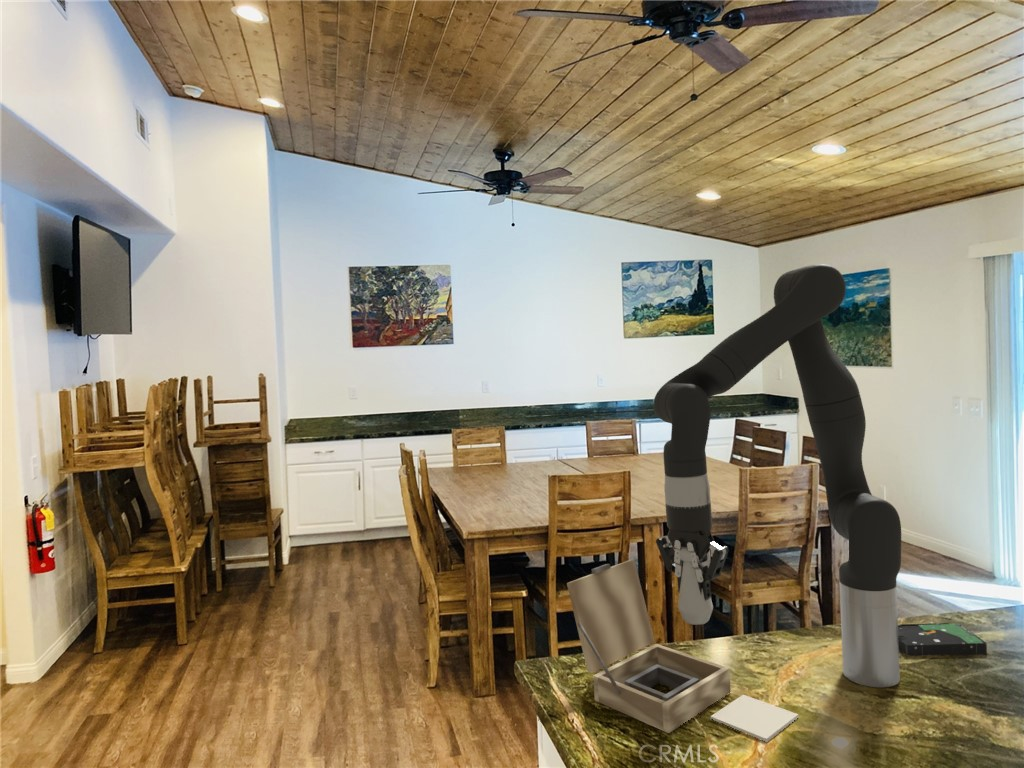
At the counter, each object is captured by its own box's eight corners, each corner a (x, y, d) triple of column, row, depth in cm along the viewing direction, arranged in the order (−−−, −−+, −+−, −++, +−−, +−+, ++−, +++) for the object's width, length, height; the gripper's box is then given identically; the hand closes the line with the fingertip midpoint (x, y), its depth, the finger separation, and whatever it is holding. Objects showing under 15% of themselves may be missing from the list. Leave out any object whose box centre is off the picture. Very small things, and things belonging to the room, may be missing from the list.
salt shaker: (717, 625, 119) (712, 549, 118) (683, 628, 119) (677, 551, 118) (708, 612, 125) (703, 539, 124) (676, 615, 125) (670, 542, 124)
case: (647, 662, 139) (644, 593, 139) (730, 693, 126) (727, 616, 125) (580, 698, 127) (576, 622, 126) (664, 736, 113) (660, 651, 112)
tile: (743, 697, 124) (743, 694, 124) (798, 717, 116) (798, 714, 116) (710, 719, 117) (710, 716, 117) (766, 742, 110) (766, 738, 110)
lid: (655, 641, 138) (650, 641, 139) (633, 555, 140) (628, 555, 141) (592, 673, 126) (587, 673, 127) (569, 578, 128) (565, 578, 129)
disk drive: (907, 659, 136) (988, 656, 135) (907, 645, 136) (988, 642, 135) (883, 637, 146) (958, 634, 145) (882, 624, 146) (957, 621, 145)
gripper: (736, 500, 118) (743, 602, 119) (667, 491, 129) (674, 585, 129) (710, 509, 113) (717, 615, 114) (641, 500, 124) (648, 597, 125)
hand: (694, 599), depth 122 cm, fingers closed on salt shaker, 3 cm apart
